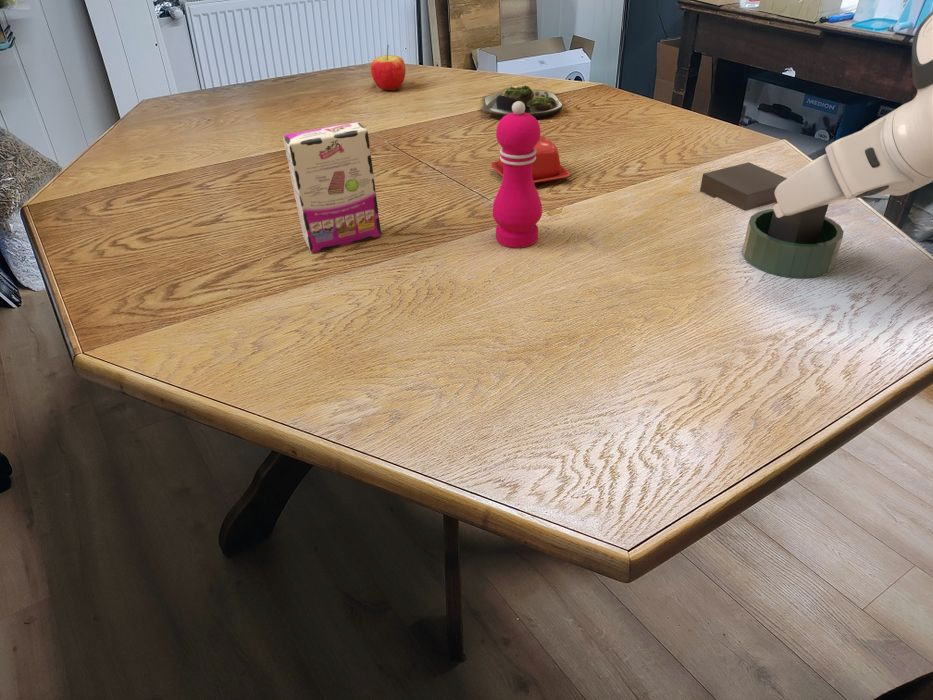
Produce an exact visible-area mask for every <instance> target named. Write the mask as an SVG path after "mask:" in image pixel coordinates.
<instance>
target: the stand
mask: <svg viewBox="0 0 933 700" xmlns="http://www.w3.org/2000/svg"><path fill="white" fill-rule="evenodd" d="M787 178H788V177H786V176H782V175H780V174H778V173H775V172H773V171H771V170H768V169H765V168H763V167H761V166H759V165H757V164H754V163H752V162H744V163H740V164H736V165H732V166H728V167H724V168H720V169H715V170H712V171H708V172H704V173H702V177H701V183H700V188H699V189H700V190H699V191H700V192H702V193H704V194H706V195H708V196H709V197H712V198H714V199H716V198H717V199H720V200H721V201H724V202H725V203H728V204H730V205H731V206H734V207H736V208H738V209H740V210H742V211H745V212H746V211H749V210H752V209H756V208H760V207H763V206H767V205H771V204H774V203H776V197H775V194H774V192H775V189H776V187H777V186H778V185H779V184H780V183H781V182H783V181H784V180H786V179H787Z"/></svg>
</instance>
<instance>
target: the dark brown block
mask: <svg viewBox="0 0 933 700" xmlns="http://www.w3.org/2000/svg"><path fill="white" fill-rule="evenodd" d="M774 203H775V204H777V203H778V202H777V200H776V202H774ZM775 204H774V205H775ZM829 205H830V204H827V205H824V206H820V207H817V208H813V209H810V210H806V211H803V212H800V213H796V214H794V215H790V216H784V217H780V218H778V217H777V216H776V214H775V212H774V211H773V215H772V219H771V223H770V227H769V231H768V236H770V237H772V238H776V239H779V240H782V241H786V242H791V243H797V244H817V242H818V238H819V235H820V232H821V228H822V225H823V222H824V218H825V217H826V215H827V212H828V209H829Z"/></svg>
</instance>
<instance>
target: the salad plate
mask: <svg viewBox="0 0 933 700" xmlns="http://www.w3.org/2000/svg"><path fill="white" fill-rule="evenodd" d="M517 101H521V102H523V103H524V105H525V111H524V112H525V113H528V114H530V115H532V116H533V117H535V118H536V120H537V121H538V120H545V119H550V118H553V117H555V116H557V114H559V113H560V112H561V110H562V109H563V104H562V102H561V101H560V99H559V98H558V96H557V95H556V94H555V93H553V92H551V91H550V92H549V91H543V90H533V89H532V88H531V87H530V86H529V85H526V84H524V85H521V86H520V87H519V86H518V85H517V84H514V85H513V86H510V87H507V88H506V89H505V90H503V91H502V92H500V93H494V94H491V95H488V96H485V99H484V102H485V105H484V106H483V108H481V110H482V111H483V112H485V113H487V114H490V115H491V116H492V117H493V118H494V117H495V119H497V120H499V121H500V120H501V119H502V118H503V117H504V116H505V115H507V114H509V113H513V111H512V105H513V104H514V103H515V102H517Z"/></svg>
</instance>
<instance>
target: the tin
mask: <svg viewBox="0 0 933 700" xmlns="http://www.w3.org/2000/svg"><path fill="white" fill-rule="evenodd" d="M773 211H774V210H773V208H768V209H764V210H761V211H760V210H759V211H757V212H755V213H754V214H752V215H751V216H750V218H749V221H748V223H747V228H746V231H745V232H746V233H745V236H744V242H743V245H742V249H741V252H742V256H743V258H744V260H745V261H746V262H747V264H749V265H751V266H752V267H754V268H755V269H757V270H759V271H761V272H764V273H766V274H770V275H773V276H777V277H780V278H788V279H802V280H803V279H805V280H806V279H814V278H819V277H822V276H825V275H827V274H828V273H830V272H831V271H832V270H834V269H833V268H834V266H835V263H836V260H837V257H838V254H839V251H840V247H841V244H842V241H843V238H844V229H843V228H842V227H841V225H840V224H838V223H837V222H836V221H835V220H834V219H831V218H829V217H827V216H825V218H824V222H823V225H822V228H821V232H820V235H819V238H818V242H817V244H797V243H791V242H786V241H782V240H779V239H776V238H772V237H770V236H768V231H769V227H770V223H771V219H772V215H773Z"/></svg>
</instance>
